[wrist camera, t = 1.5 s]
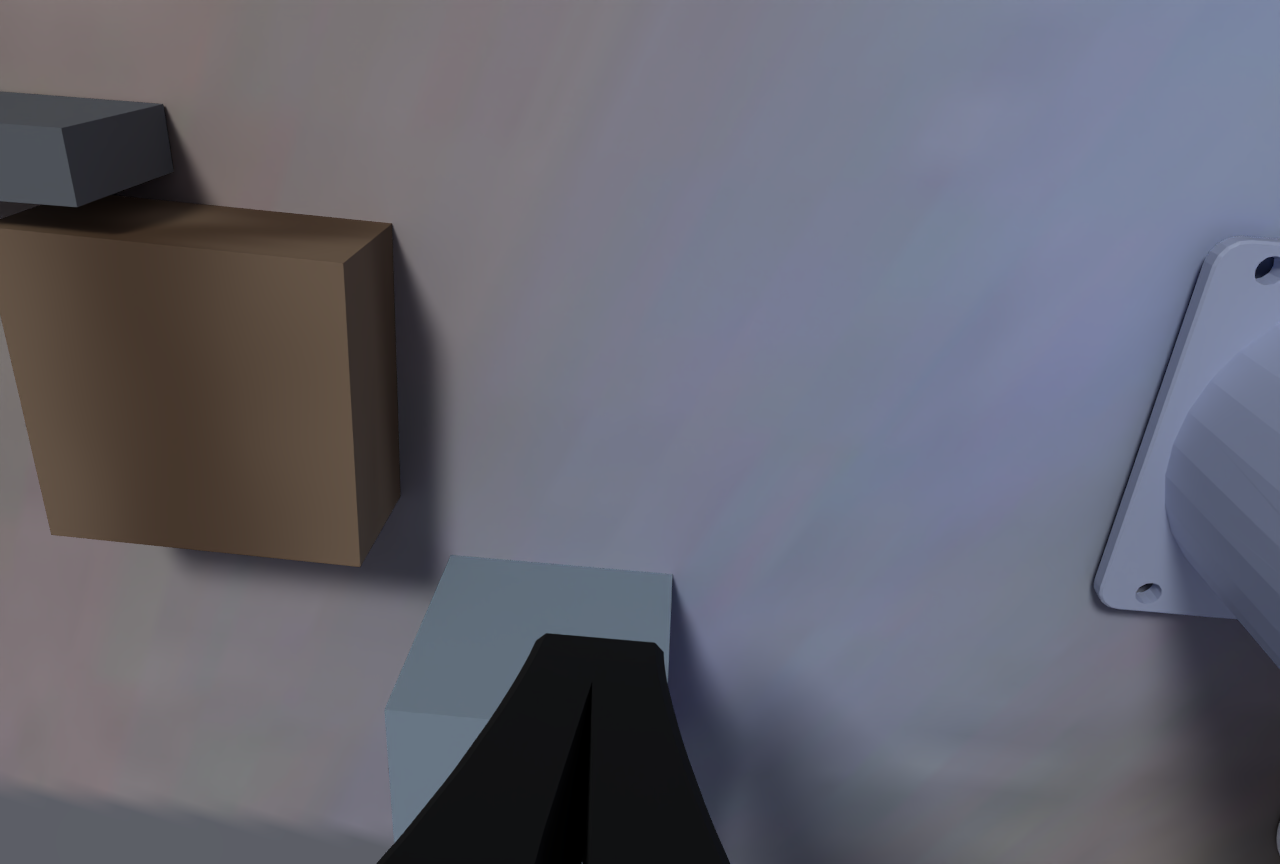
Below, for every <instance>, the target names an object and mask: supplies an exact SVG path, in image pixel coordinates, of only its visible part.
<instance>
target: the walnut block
mask: <svg viewBox="0 0 1280 864" xmlns="http://www.w3.org/2000/svg"><path fill="white" fill-rule="evenodd" d="M0 315H1V319H2V324H3V328H4V332H5V337H6V341H7V345H8V350H9V354H10V358H11V363H12V367H13V371H14V376H15V380H16V384H17V388H18V393H19V397H20V401H21V406H22V410H23V414H24V419H25V423H26V427H27V432H28V436H29V440H30V445H31V449H32V453H33V458H34V462H35V466H36V471H37V475H38V479H39V484H40V488H41V492H42V496H43V501H44V505H45V509H46V514H47V518H48V522H49V527H50V531H51V535H58V536H68V537H77V538H87V539H96V540H106V541H116V542H125V543H135V544H144V545H154V546H164V547H173V548H183V549H192V550H202V551H211V552H221V553H231V554H240V555H250V556H259V557H269V558H278V559H288V560H298V561H307V562H317V563H326V564H336V565H346V566H355V567H361V565H362V563H363V561H364V560H365V558H366V556H367V554H368V553H369V551H370V549H371V547H372V546H373V544H374V542H375V540H376V538H377V537H378V535H379V533H380V531H381V530H382V528H383V526H384V524H385V523H386V521H387V519H388V517H389V516H390V514H391V512H392V510H393V509H394V507H395V505H396V503H397V501H398V500H399V498H400V464H399V432H398V400H397V368H396V336H395V303H394V271H393V239H392V224H391V223H382V222H372V221H362V220H352V219H342V218H332V217H322V216H313V215H303V214H293V213H283V212H273V211H263V210H253V209H244V208H234V207H224V206H214V205H204V204H194V203H184V202H175V201H165V200H155V199H145V198H135V197H125V196H115V195H109V196H106V197H104V198H101V199H98V200H95V201H93V202H90V203H87V204H85V205H82V206H79V207H68V206H55V205H40V206H37V207H34V208H31V209H28V210H25V211H23V212H20V213H17V214H14V215H11V216H8V217H5V218H3V219H0Z"/></svg>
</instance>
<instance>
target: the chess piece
mask: <svg viewBox="0 0 1280 864" xmlns="http://www.w3.org/2000/svg"><path fill="white" fill-rule="evenodd" d="M1276 840H1277V848H1278V852H1279V854H1280V822H1279V825H1278V829H1277V838H1276Z"/></svg>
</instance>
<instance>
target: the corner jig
mask: <svg viewBox="0 0 1280 864" xmlns="http://www.w3.org/2000/svg"><path fill="white" fill-rule="evenodd" d="M171 172H174V171H173V164H172V158H171V151H170V145H169V138H168V132H167V126H166V119H165V113H164V106H163V104H156V103H143V102H129V101H116V100H103V99H90V98H77V97H64V96H51V95H38V94H25V93H12V92H0V201H5V202H18V203H30V204H43V205H55V206H68V207H79V206H82V205H85V204H87V203H90V202H93V201H95V200H98V199H101V198H104V197H106V196H109V195H112V194H114V193H117V192H120V191H123V190H125V189H128V188H131V187H133V186H136V185H139V184H142V183H144V182H147V181H150V180H152V179H155V178H158V177H160V176H163V175H166V174H169V173H171Z"/></svg>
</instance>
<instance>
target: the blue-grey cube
mask: <svg viewBox="0 0 1280 864" xmlns="http://www.w3.org/2000/svg"><path fill="white" fill-rule="evenodd" d="M671 597H672V574H663V573H651V572H640V571H628V570H617V569H605V568H594V567H582V566H571V565H559V564H548V563H536V562H525V561H513V560H502V559H490V558H479V557H467V556H456V555H451V556H450V558H449V561H448V563H447V565H446V568H445V570H444V572H443V575H442V577H441V579H440V582H439V584H438V586H437V589H436V591H435V593H434V596H433V598H432V600H431V603H430V605H429V607H428V610H427V612H426V614H425V617H424V619H423V621H422V624H421V626H420V628H419V631H418V633H417V635H416V638H415V640H414V642H413V645H412V647H411V649H410V652H409V654H408V656H407V659H406V661H405V663H404V666H403V668H402V670H401V673H400V675H399V677H398V680H397V682H396V684H395V687H394V689H393V691H392V694H391V696H390V698H389V701H388V703H387V705H386V708H385V723H386V737H387V751H388V764H389V778H390V792H391V806H392V819H393V833H394V843H395V842H396V841H397V840H398V838H399V837H400V836H401V835H402V834H403V833H404V831H405V830H406V829H407V828H408V826H409V825H410V824H411V823H412V821H413V820H414V819H415V818H416V816H417V815H418V814H419V813H420V812H421V810H422V809H423V808H424V807H425V805H426V804H427V803H428V802H429V800H430V799H431V798H432V797H433V795H434V794H435V793H436V792H437V791H438V789H439V788H440V787H441V786H442V784H443V783H444V782H445V781H446V779H447V778H448V777H449V775H450V774H451V773H452V771H453V770H454V769H455V767H456V766H457V765H458V763H459V762H460V761H461V759H462V758H463V756H464V755H465V754H466V752H467V751H468V749H469V748H470V746H471V745H472V744H473V742H474V741H475V739H476V738H477V737H478V735H479V734H480V732H481V731H482V730H483V728H484V727H485V725H486V724H487V723H488V721H489V720H490V718H491V717H492V715H493V714H494V712H495V711H496V709H497V708H498V706H499V704H500V703H501V701H502V700H503V698H504V697H505V695H506V694H507V692H508V691H509V689H510V687H511V686H512V684H513V682H514V681H515V679H516V677H517V676H518V674H519V672H520V670H521V669H522V667H523V665H524V663H525V661H526V660H527V658H528V656H529V654H530V652H531V650H532V648H533V646H534V644H535V641H536V640H537V639H539V638H540V637H542V636H543V635H544V634H546V633H551V634H562V635H574V636H586V637H597V638H609V639H620V640H632V641H643V642H655V643H656V644H657V645H658V646H659V647H660V648H661V650H662V651H663V652H664V664H665V671H666V677H667V683H668V668H669V644H670V621H671Z"/></svg>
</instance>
